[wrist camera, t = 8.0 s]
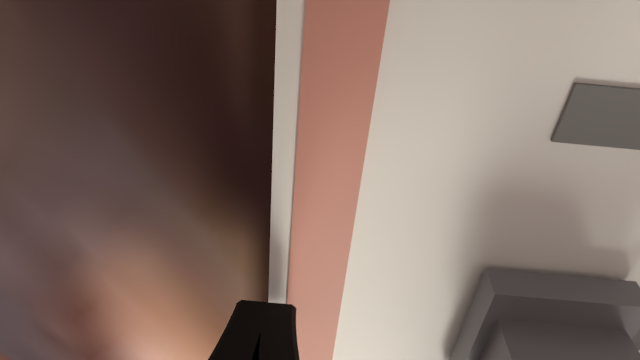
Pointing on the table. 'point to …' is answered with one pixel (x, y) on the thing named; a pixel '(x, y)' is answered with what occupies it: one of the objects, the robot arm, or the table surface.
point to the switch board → (446, 161)
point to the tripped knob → (550, 318)
